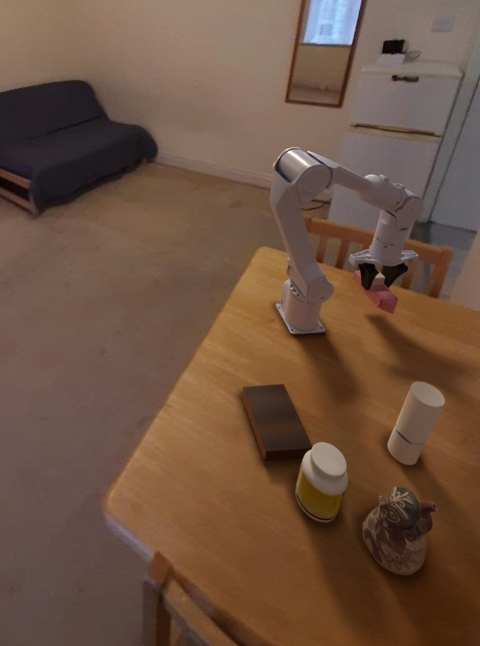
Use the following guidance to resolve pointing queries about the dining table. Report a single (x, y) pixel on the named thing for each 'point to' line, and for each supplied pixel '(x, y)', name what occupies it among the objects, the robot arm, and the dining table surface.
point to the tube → (415, 422)
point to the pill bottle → (322, 482)
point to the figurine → (399, 531)
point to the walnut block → (275, 423)
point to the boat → (378, 293)
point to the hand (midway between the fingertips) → (374, 286)
